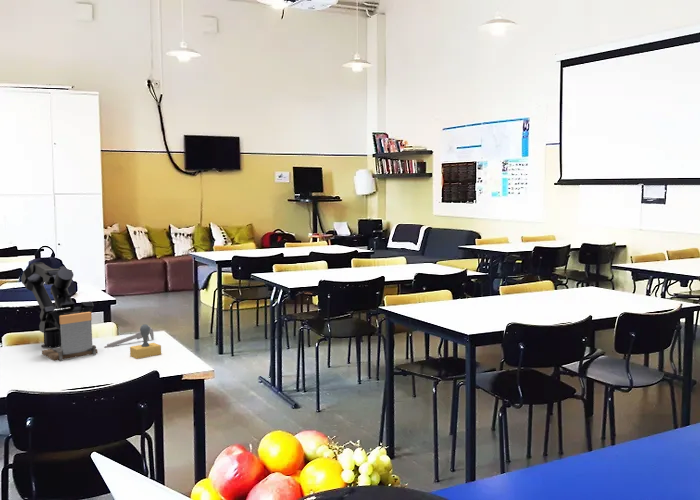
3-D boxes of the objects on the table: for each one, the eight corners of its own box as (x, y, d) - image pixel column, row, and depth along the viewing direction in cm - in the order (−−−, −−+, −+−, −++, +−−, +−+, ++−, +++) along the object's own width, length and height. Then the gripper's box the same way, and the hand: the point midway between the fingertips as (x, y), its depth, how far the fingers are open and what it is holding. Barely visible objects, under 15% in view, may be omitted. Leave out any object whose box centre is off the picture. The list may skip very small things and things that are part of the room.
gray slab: (61, 355, 253) (59, 315, 251) (91, 349, 260) (89, 311, 259) (62, 355, 252) (60, 316, 250) (93, 350, 259) (91, 312, 258)
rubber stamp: (136, 359, 254) (135, 327, 253) (130, 356, 258) (128, 324, 257) (161, 354, 261) (160, 323, 259) (154, 351, 265) (153, 321, 264)
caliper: (152, 340, 285) (152, 325, 284) (153, 340, 284) (153, 325, 283) (103, 348, 272) (103, 332, 271) (105, 348, 271) (104, 333, 270)
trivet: (42, 354, 261) (41, 345, 261) (84, 347, 272) (83, 338, 272) (56, 361, 250) (56, 352, 250) (99, 354, 261) (99, 345, 261)
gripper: (80, 305, 275) (93, 337, 268) (32, 312, 262) (43, 345, 255) (87, 288, 268) (100, 320, 261) (38, 294, 256) (50, 327, 249)
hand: (74, 329), depth 257 cm, fingers open, 9 cm apart
